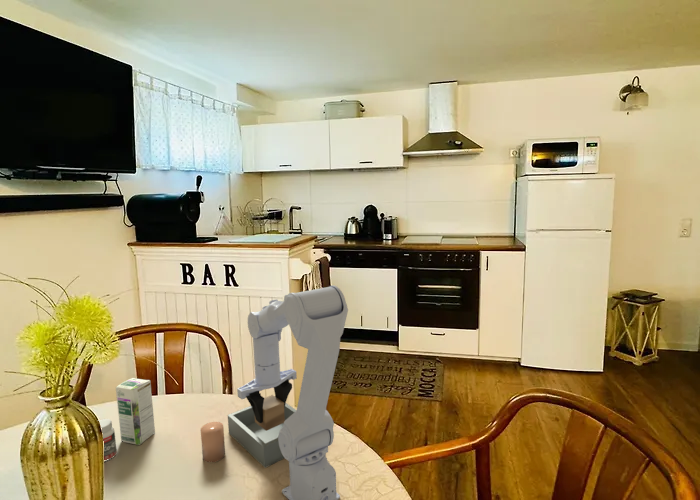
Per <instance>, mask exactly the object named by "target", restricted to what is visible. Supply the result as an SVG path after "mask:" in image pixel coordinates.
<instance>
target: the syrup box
mask: <svg viewBox="0 0 700 500" xmlns="http://www.w3.org/2000/svg"><path fill="white" fill-rule="evenodd" d="M115 394H116V403H117V412H118V421H119V432H120V442H121V441H123V442H122V443H128V444H133V445H137V446H140V445H142V444H143V443H144V442H145V441H146V440H148V439H149V438H150V437H152V436H153V435H154V434H155V433H156V428H155V415H154V406H153V405H154V404H153V396H152V384H151V380H150V379H142V378H135V377H131V378H129V379H127V380H125V381H123V382H121V383H120V384H118V385H117V386H115Z"/></svg>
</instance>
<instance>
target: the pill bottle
mask: <svg viewBox="0 0 700 500" xmlns="http://www.w3.org/2000/svg"><path fill="white" fill-rule="evenodd" d="M98 421H99V422H100V425H101V428H102V433H103V441H104V460H107V459H110V458H112V457H113V456H115V455H116V456H117V454H118V450H117V444H116V443H117V442H116V434H115V428H114V427H113V424H112V423H113V422H112V420H111V419H110V418H103V419H99V420H98ZM116 453H117V454H116ZM116 456H115V457H116ZM112 459H113V458H112ZM110 460H111V459H110Z"/></svg>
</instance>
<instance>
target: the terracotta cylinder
mask: <svg viewBox="0 0 700 500" xmlns="http://www.w3.org/2000/svg"><path fill="white" fill-rule="evenodd" d="M224 431H225V430H224V424H223V423H222V422H220V421H211V422H207V423H206V424H204V425H202V426H201V427H200V439H201V451H202V452H201V453H202V460H203V461H204V462H205V463H216V462H218V461H221V460H222V459H223V458H224V457H225V456H226V446H225V432H224Z"/></svg>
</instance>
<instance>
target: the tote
mask: <svg viewBox="0 0 700 500" xmlns="http://www.w3.org/2000/svg"><path fill="white" fill-rule="evenodd" d="M296 410H297V409H295V408H294V407H292V406H291V405H290V404H288V403H287V402H286V404H285V408H284V416H285V420H286V419H288V418H289V417H290V416H291V415H292V414H293V413H294V412H295V411H296ZM227 425H228V435H230V436H231V437H232V438H233V439H234V440H235V441H236V442H237V443H238V444H239V445H241V446H242V447H243V449H244V450H245V451H247V452H248V453H249V454H250V455H251V456H252V457H253V458H254V459H255V460H256V461H257V462H258V463H259V464H261V465H260V466H263V468H268V467H270V466H271V465H274V464H275V463H279V462H280V461H282V460H283V459H285V458H284V456H283V455H282V453H281V450H280V447H279V442H278V435H279V432H280V430H281V428H282V427H283V425H284V423H282V424H280V425H278V426H276V427H273V428H271V429H269V430H267V431H266V430H264V429H263V428H262V427H261V426H259V425H258V424H257V423H256V422H255V415H254V412H253V409H252V407H251V405H250V406H246V407H244V408H242V409H240V410H237V411H234V412H231V413H229V414H227Z"/></svg>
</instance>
